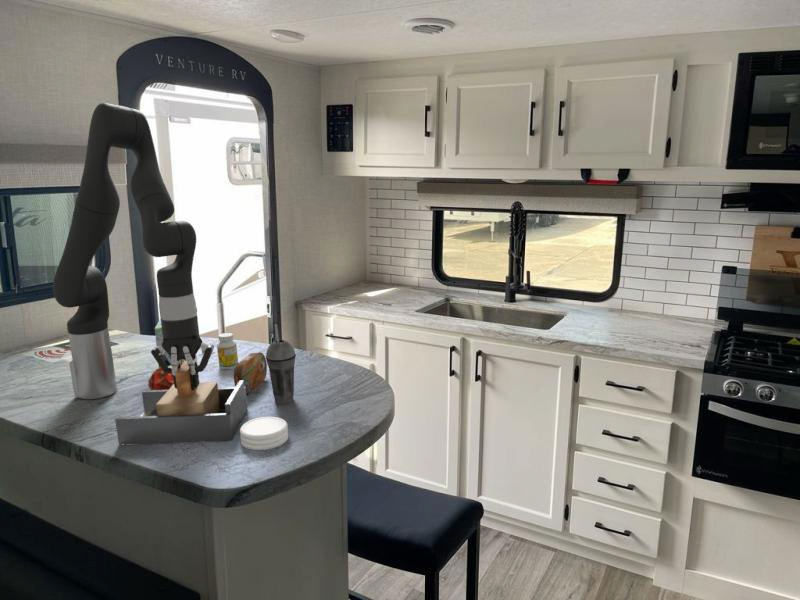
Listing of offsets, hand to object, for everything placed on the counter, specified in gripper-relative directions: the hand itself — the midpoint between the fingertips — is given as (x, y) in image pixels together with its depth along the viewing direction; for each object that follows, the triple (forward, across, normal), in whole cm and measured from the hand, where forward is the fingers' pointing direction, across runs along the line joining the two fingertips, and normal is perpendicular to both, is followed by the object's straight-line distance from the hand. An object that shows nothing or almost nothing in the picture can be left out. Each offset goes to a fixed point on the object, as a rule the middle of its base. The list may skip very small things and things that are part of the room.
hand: (187, 388), depth 137 cm
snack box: (+9, -17, +41) cm, 45 cm away
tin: (+9, +9, +23) cm, 26 cm away
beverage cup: (+9, +19, +13) cm, 25 cm away
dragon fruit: (+9, -11, +18) cm, 23 cm away
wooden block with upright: (+8, 0, 0) cm, 8 cm away
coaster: (+10, +18, -8) cm, 22 cm away
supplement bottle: (+9, -1, +40) cm, 41 cm away
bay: (+9, -1, 0) cm, 9 cm away
